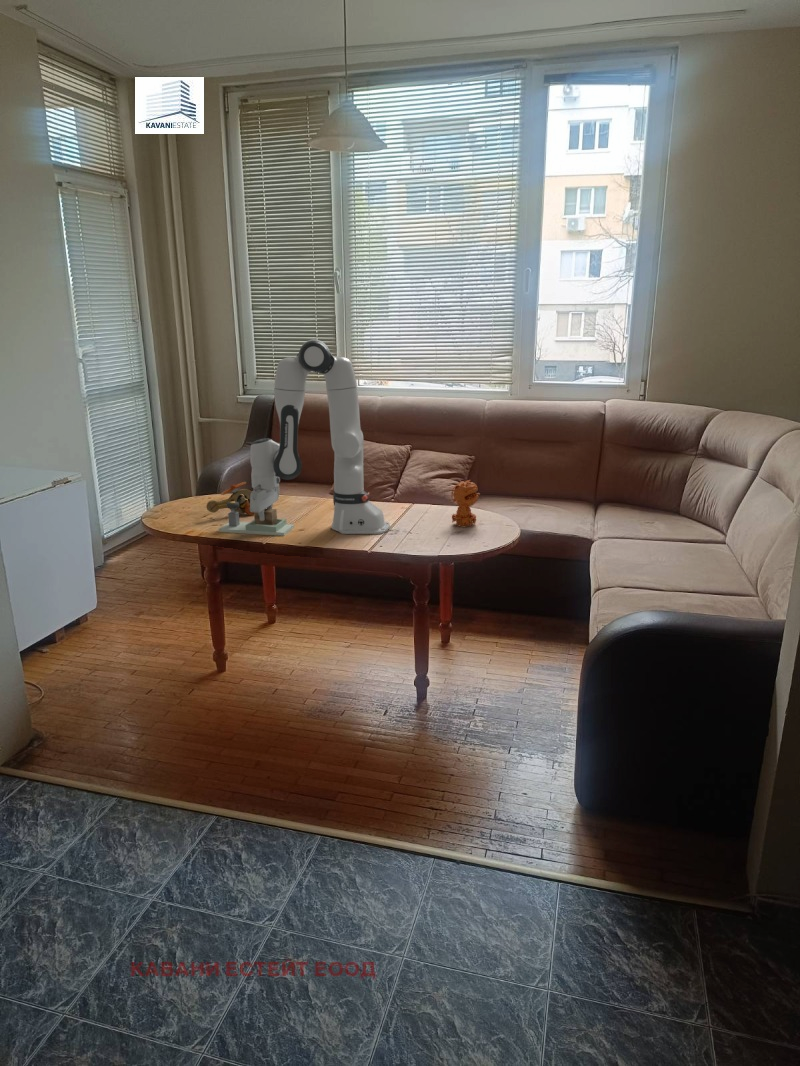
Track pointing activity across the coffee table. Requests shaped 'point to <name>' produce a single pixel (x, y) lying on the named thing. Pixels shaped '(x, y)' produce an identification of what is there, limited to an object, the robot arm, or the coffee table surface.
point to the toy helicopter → (233, 500)
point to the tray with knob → (255, 526)
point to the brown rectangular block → (267, 517)
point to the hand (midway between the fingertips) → (265, 518)
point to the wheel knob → (233, 506)
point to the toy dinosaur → (465, 502)
